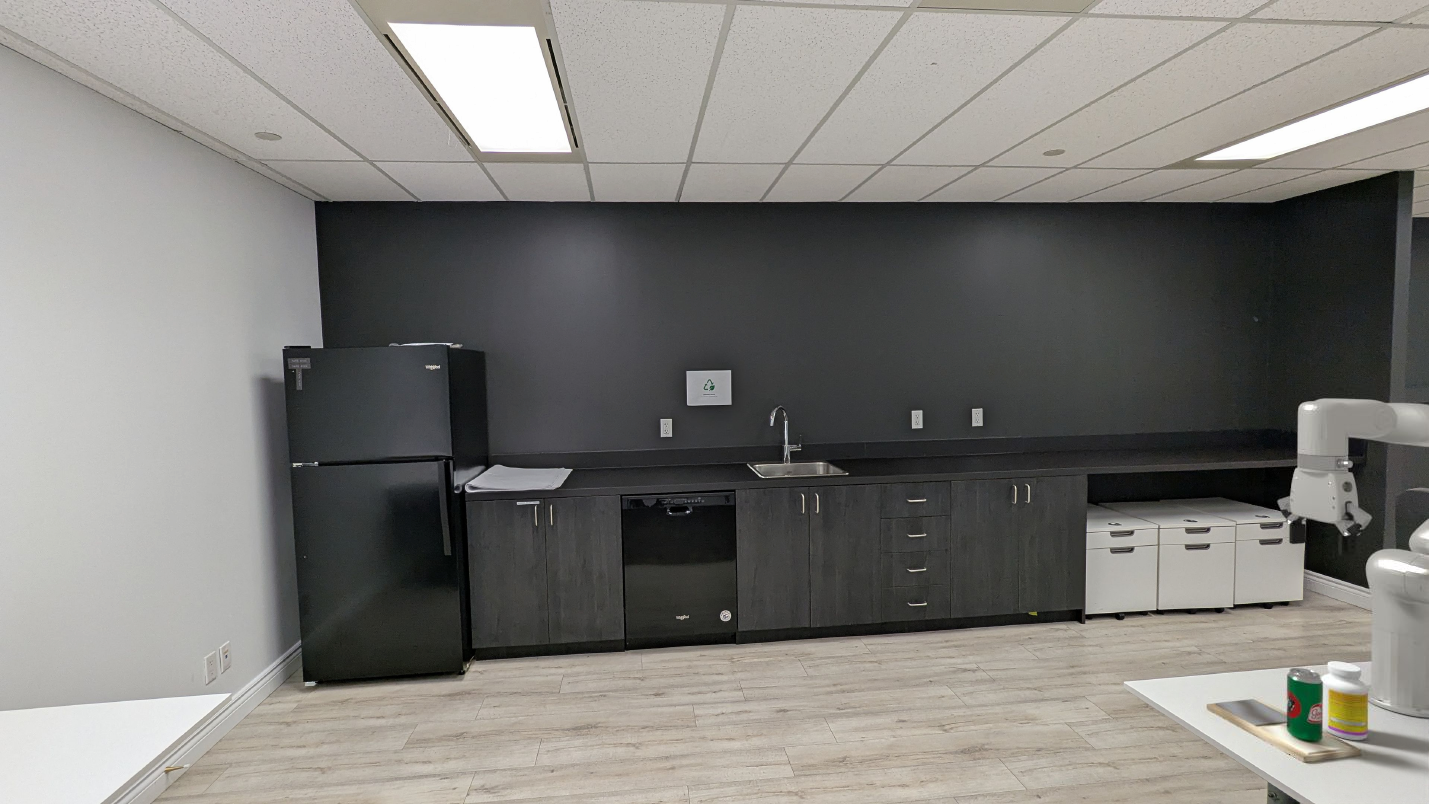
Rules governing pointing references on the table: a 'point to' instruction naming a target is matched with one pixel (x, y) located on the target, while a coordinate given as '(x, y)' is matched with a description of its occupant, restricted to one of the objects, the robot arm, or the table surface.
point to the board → (1280, 730)
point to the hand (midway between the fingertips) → (1321, 549)
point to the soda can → (1305, 705)
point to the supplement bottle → (1345, 702)
